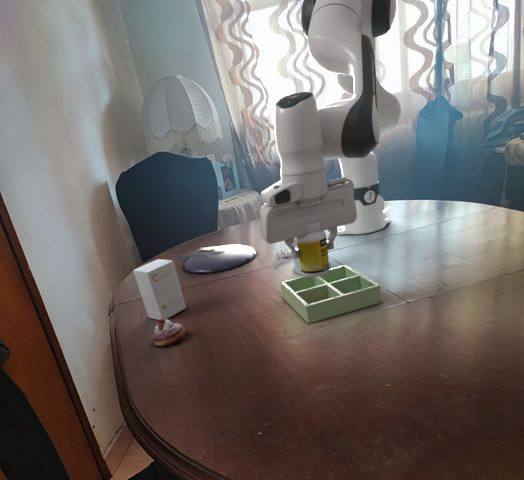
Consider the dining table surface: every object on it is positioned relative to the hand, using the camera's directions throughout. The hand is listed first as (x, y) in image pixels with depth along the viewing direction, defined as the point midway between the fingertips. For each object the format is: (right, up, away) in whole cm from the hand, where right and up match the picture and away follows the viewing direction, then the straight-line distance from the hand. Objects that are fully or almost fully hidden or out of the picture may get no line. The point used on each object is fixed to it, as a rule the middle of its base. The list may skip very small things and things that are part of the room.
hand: (313, 253), depth 98 cm
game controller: (-5, +6, +42) cm, 43 cm away
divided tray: (+5, -9, +11) cm, 15 cm away
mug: (+4, +1, +30) cm, 30 cm away
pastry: (-32, -18, +7) cm, 37 cm away
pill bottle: (+1, -4, +2) cm, 5 cm away
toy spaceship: (-26, +9, +54) cm, 61 cm away
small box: (-35, -11, +21) cm, 42 cm away
